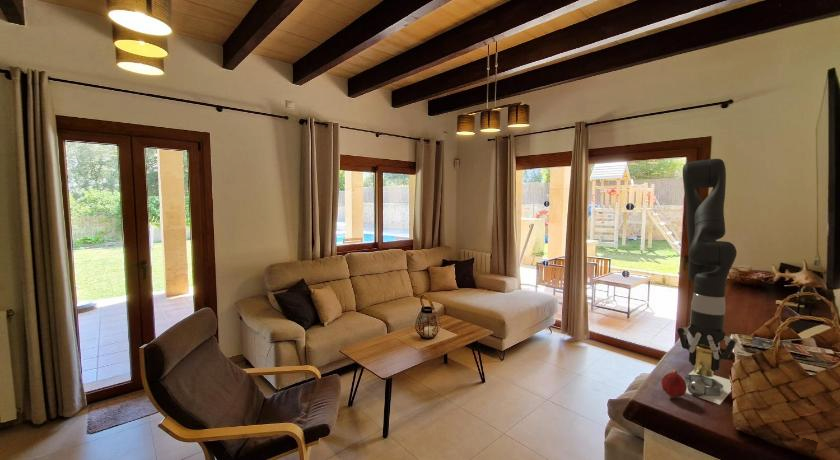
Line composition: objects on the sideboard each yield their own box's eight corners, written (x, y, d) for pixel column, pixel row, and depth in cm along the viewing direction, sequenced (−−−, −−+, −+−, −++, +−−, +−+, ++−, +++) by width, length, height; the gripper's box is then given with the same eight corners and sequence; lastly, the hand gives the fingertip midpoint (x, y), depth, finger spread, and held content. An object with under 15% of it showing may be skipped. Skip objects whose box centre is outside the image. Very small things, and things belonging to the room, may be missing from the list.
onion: (686, 405, 99) (688, 377, 98) (661, 399, 102) (662, 371, 101) (684, 396, 104) (686, 369, 103) (660, 390, 107) (662, 364, 106)
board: (694, 372, 119) (694, 369, 119) (738, 385, 110) (738, 382, 110) (672, 391, 106) (672, 387, 106) (719, 408, 98) (719, 404, 98)
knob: (695, 367, 110) (697, 342, 109) (716, 374, 106) (718, 347, 105) (690, 372, 106) (692, 345, 106) (711, 379, 103) (713, 351, 102)
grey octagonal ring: (689, 378, 112) (690, 367, 112) (725, 389, 106) (726, 377, 105) (676, 389, 105) (677, 377, 105) (714, 402, 99) (714, 389, 98)
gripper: (743, 313, 101) (739, 373, 103) (682, 302, 113) (679, 356, 114) (736, 318, 97) (732, 380, 98) (674, 306, 108) (670, 362, 109)
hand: (703, 367), depth 106 cm, fingers closed on knob, 4 cm apart
